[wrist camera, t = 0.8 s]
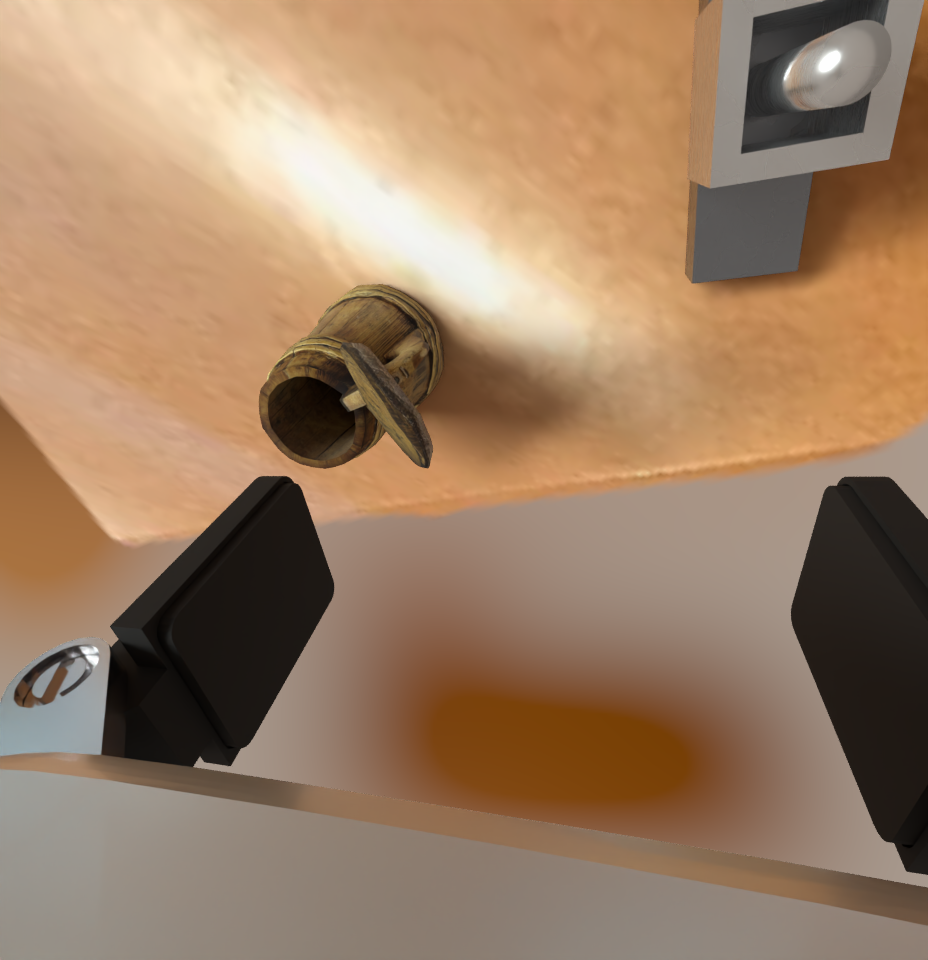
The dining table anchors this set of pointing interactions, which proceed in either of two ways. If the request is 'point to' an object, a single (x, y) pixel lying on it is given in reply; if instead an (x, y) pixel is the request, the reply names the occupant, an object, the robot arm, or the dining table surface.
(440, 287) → the dining table surface
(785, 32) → the block
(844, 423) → the dining table surface
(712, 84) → the steel collar
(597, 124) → the dining table surface
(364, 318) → the wooden mug
